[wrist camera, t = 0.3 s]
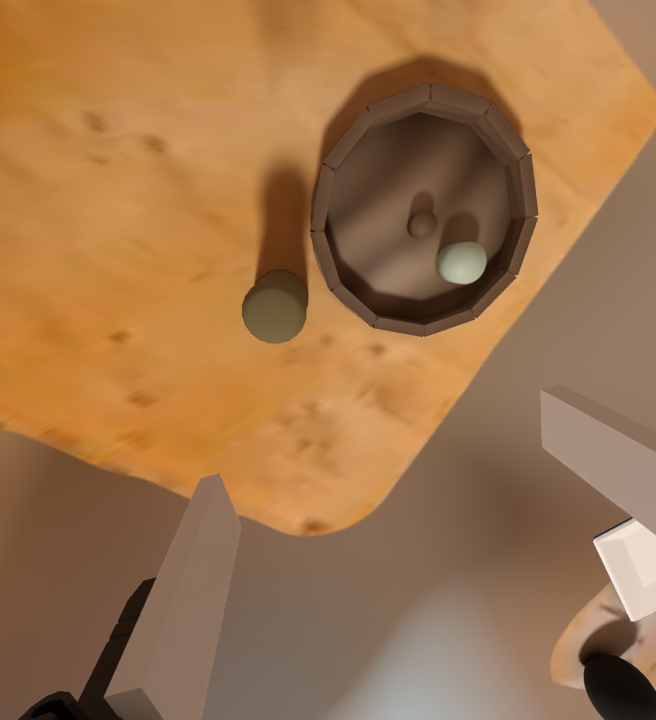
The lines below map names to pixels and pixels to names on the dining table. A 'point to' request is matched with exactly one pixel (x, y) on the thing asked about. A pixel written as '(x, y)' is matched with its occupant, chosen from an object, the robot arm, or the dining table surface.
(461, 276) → the pale beige rounded lump
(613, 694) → the decorative ball
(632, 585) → the plate
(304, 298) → the olive green knobbed peg
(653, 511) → the robot arm
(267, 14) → the dining table surface
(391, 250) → the tray
